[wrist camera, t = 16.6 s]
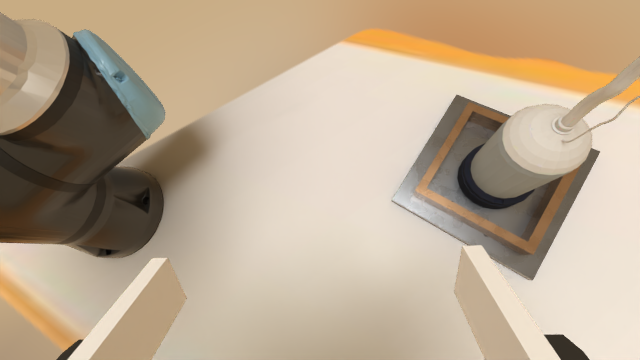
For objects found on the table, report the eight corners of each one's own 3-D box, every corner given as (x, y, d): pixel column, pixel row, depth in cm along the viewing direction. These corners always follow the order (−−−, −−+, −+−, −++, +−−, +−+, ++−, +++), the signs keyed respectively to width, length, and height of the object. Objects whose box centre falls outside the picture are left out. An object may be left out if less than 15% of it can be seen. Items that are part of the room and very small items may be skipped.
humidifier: (524, 147, 35) (805, -72, 12) (532, 210, 33) (894, 95, 10) (455, 148, 37) (581, -41, 14) (458, 208, 35) (614, 105, 12)
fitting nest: (391, 201, 38) (392, 195, 35) (455, 98, 40) (461, 84, 37) (528, 279, 32) (544, 281, 29) (594, 154, 34) (616, 143, 31)
